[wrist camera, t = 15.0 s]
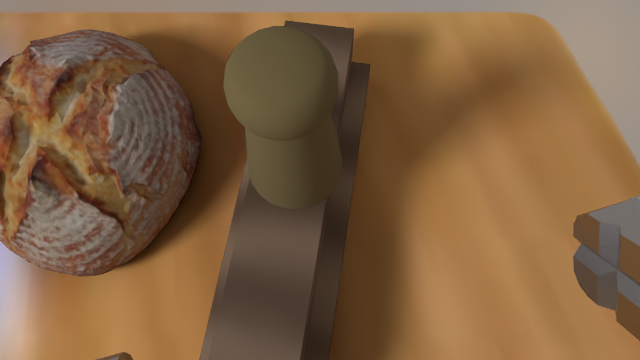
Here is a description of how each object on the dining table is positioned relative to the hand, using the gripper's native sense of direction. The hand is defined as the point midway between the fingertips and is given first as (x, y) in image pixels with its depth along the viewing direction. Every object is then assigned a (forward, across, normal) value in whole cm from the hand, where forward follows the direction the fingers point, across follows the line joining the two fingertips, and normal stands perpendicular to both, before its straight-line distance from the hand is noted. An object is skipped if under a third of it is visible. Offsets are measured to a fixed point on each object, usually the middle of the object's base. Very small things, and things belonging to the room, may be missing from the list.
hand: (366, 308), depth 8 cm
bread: (+31, +14, +4) cm, 35 cm away
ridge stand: (+24, +1, +11) cm, 27 cm away
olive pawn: (+22, 0, +6) cm, 22 cm away
